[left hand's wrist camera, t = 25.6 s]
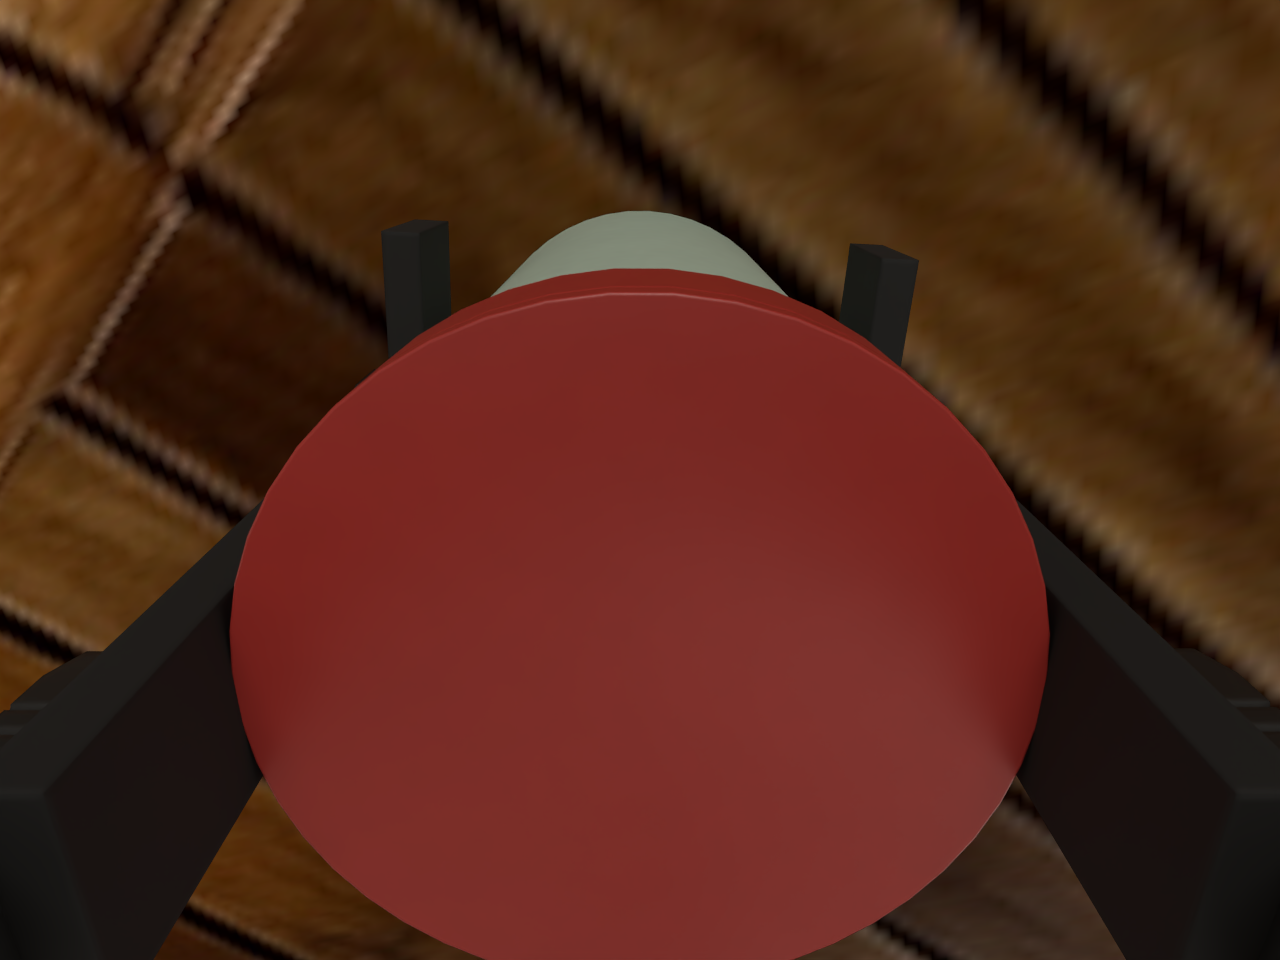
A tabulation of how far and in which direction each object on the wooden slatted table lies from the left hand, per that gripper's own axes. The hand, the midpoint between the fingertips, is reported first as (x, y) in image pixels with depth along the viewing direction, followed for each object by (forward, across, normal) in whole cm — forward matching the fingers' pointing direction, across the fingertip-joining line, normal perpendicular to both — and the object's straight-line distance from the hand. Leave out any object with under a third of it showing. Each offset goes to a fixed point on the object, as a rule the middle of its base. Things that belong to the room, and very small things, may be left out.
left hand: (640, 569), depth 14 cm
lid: (-3, 0, 0) cm, 3 cm away
